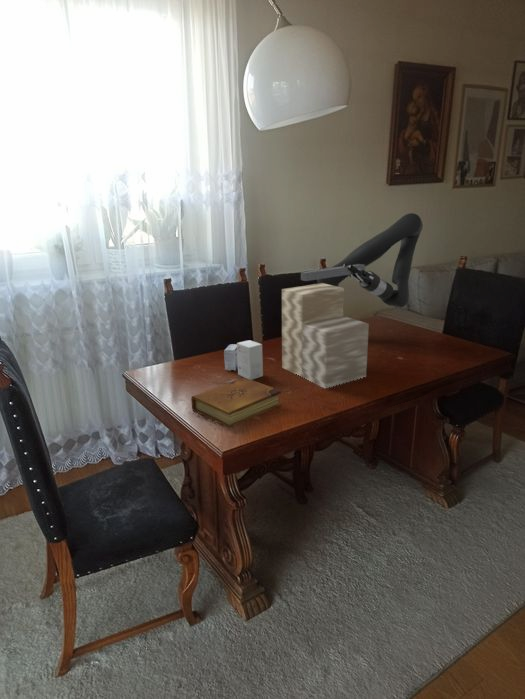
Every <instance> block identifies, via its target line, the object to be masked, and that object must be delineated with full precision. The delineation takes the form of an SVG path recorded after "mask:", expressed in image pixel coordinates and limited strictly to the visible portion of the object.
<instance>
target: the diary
mask: <svg viewBox="0 0 525 699" xmlns="http://www.w3.org/2000/svg"><path fill="white" fill-rule="evenodd" d="M281 393H282V390H280V389H277V388H274V387H271V386H269V385H266V384H263V383H261V382H258V381H255V380H254V379H252V380H250V379H248V378H245V377H242V378H239V379H236V380H232V381H231V382H230V381H229V382H228V383H225V384H222V385H219V386H217V387H214V388H211V389H208V390H205V391H202V392H200V393H197V394H195V395H192V397H191V409H192V411H194V412H196V413H198V414H200V415H203V417H207V418H209V419H211V420H212V421H214V422H216V423H219V424H221V425H223V426H225V427H227V428H229V429H230V428H232V427H234V426H236V425H239V424H241V423H243V422H245V421H247V420H250V419H252V418H255V417H256V416H259V415H261V414H263V413H265V412H268V411H270V410H273V409H275V408H277V407H279V406H281V405H282V404H281V402H279V395H280V394H281Z"/></svg>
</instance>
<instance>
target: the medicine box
mask: <svg viewBox="0 0 525 699" xmlns="http://www.w3.org/2000/svg"><path fill="white" fill-rule="evenodd" d="M223 351H224V352H223V356H224V358H223V359H224V369H225V371H231V370H234V372H236V370H238V358H237V343H236V344H235V343H234V344H233V343H232V344H228V345H227V347H226V348H225V349H224V350H223Z"/></svg>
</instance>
